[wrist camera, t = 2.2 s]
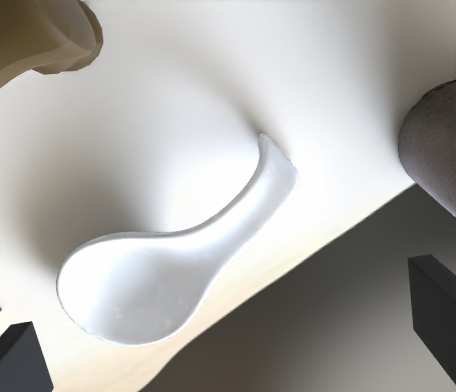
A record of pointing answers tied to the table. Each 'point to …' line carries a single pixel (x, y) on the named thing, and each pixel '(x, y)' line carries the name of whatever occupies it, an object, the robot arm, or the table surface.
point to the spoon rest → (168, 262)
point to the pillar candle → (432, 144)
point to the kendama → (46, 37)
